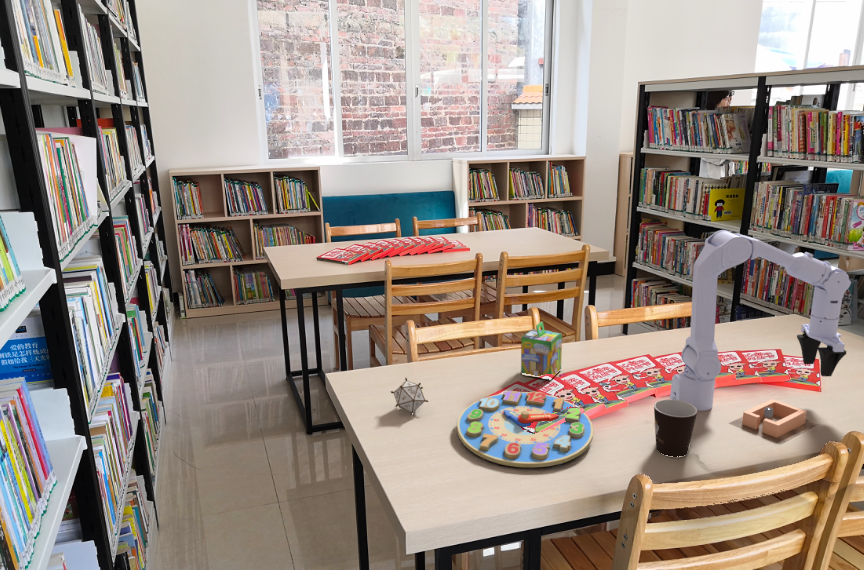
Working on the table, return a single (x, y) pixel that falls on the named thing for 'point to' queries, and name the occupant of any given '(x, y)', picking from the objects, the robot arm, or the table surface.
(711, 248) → the robot arm
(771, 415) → the hook post
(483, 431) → the shape sorting clock
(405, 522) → the table surface
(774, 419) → the stand base
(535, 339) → the chalk box
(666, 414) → the coffee mug
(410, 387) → the game die
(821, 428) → the table surface
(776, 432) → the c link
